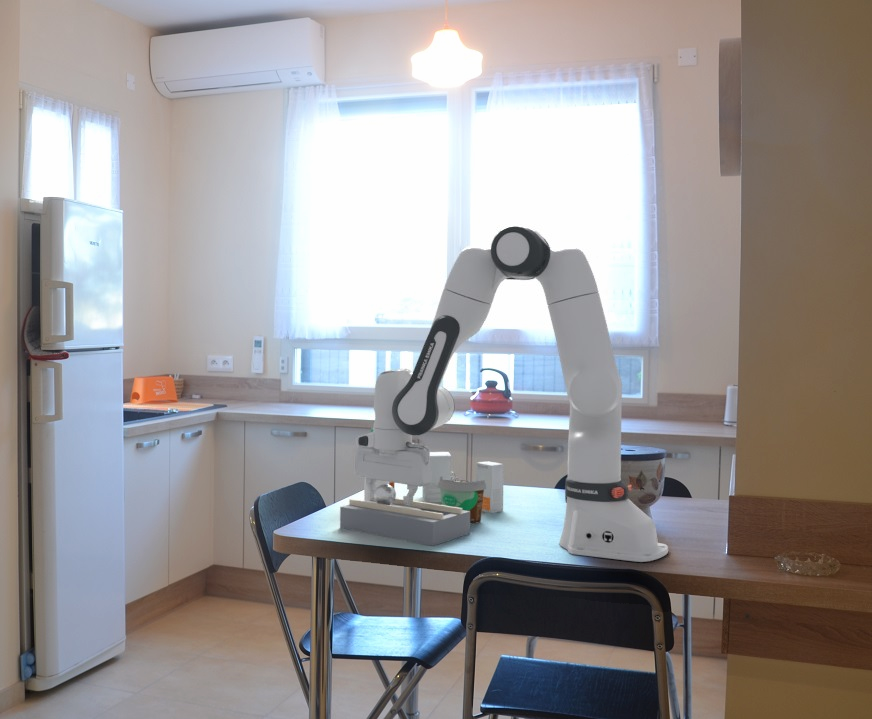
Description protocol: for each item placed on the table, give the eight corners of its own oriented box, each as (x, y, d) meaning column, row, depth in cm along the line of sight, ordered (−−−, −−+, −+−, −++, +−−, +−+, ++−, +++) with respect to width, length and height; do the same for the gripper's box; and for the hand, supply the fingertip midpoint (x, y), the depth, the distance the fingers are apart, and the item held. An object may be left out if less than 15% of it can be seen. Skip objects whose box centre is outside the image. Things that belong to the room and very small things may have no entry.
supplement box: (449, 498, 234) (449, 451, 234) (451, 503, 227) (451, 455, 226) (422, 498, 234) (422, 451, 233) (423, 503, 226) (423, 455, 226)
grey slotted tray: (470, 533, 193) (470, 505, 193) (432, 546, 182) (433, 516, 181) (379, 518, 208) (379, 492, 208) (340, 528, 197) (340, 501, 197)
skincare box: (475, 509, 219) (475, 462, 219) (488, 507, 222) (488, 460, 222) (491, 513, 214) (491, 465, 214) (504, 511, 217) (504, 463, 217)
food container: (427, 521, 205) (428, 479, 204) (439, 516, 210) (440, 475, 210) (475, 527, 199) (475, 484, 199) (486, 522, 204) (486, 480, 204)
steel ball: (394, 508, 200) (403, 491, 198) (380, 512, 195) (389, 494, 194) (380, 495, 202) (389, 478, 200) (366, 498, 198) (375, 481, 196)
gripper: (437, 443, 193) (436, 505, 193) (367, 435, 205) (366, 493, 205) (420, 446, 188) (419, 509, 188) (349, 437, 200) (348, 497, 200)
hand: (391, 501), depth 197 cm, fingers open, 8 cm apart
